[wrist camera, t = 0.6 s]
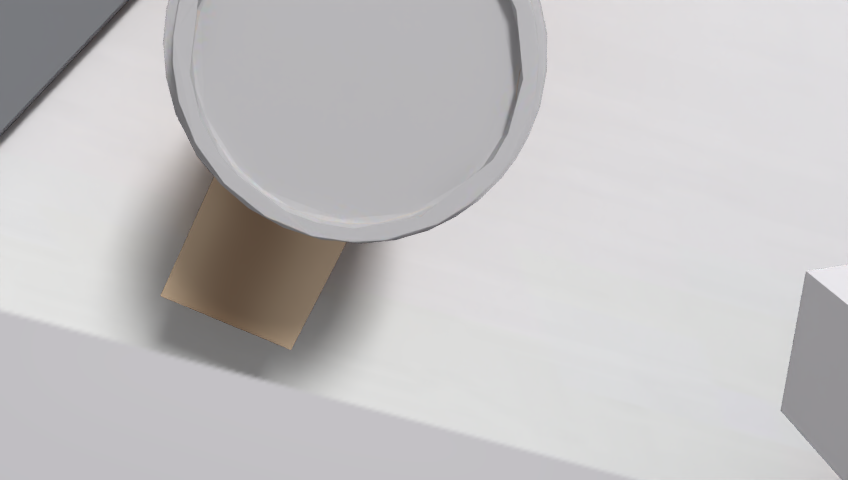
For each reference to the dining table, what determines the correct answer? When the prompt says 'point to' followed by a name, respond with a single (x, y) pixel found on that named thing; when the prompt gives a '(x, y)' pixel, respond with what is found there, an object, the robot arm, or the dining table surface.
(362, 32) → the disposable coffee cup
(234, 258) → the block
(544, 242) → the dining table surface
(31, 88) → the mat
